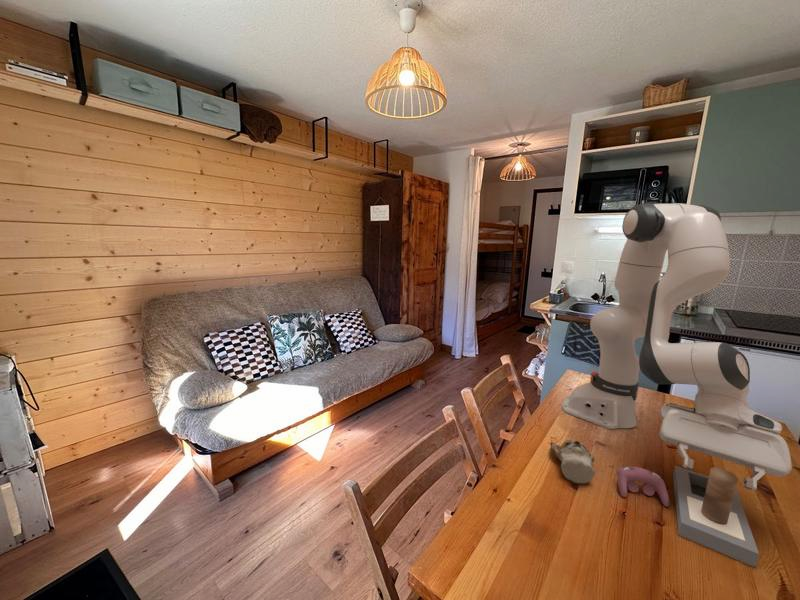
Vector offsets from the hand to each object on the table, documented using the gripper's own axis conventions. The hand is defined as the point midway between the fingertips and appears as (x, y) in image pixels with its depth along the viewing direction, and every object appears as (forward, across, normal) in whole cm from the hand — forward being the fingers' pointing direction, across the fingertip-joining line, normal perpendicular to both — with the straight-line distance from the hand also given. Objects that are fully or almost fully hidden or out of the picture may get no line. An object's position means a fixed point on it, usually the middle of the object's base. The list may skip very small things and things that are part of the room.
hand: (717, 477), depth 68 cm
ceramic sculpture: (+8, -26, +9) cm, 29 cm away
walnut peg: (+7, +1, +5) cm, 8 cm away
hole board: (+6, +1, +10) cm, 12 cm away
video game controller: (+7, -12, +9) cm, 16 cm away
